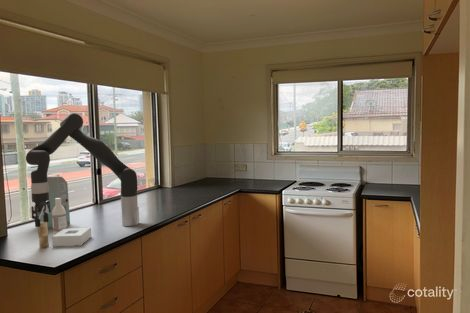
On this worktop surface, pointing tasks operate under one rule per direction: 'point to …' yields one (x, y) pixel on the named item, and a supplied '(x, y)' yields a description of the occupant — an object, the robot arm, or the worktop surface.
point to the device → (57, 196)
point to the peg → (43, 235)
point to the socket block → (71, 237)
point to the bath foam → (58, 217)
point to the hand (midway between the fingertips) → (42, 224)
